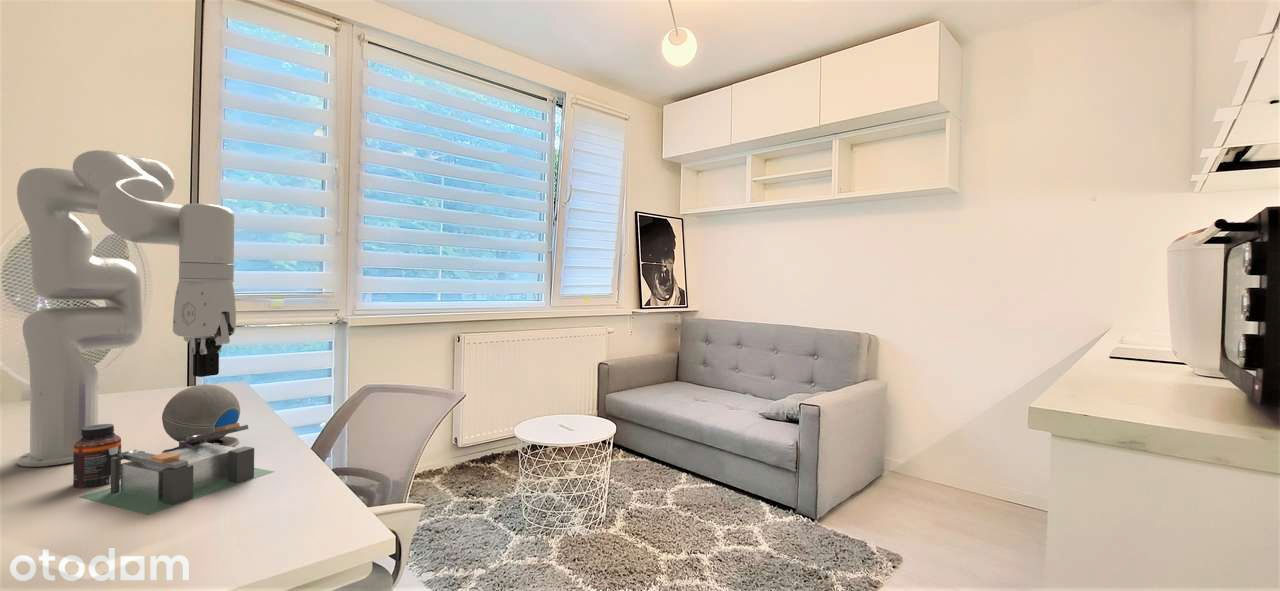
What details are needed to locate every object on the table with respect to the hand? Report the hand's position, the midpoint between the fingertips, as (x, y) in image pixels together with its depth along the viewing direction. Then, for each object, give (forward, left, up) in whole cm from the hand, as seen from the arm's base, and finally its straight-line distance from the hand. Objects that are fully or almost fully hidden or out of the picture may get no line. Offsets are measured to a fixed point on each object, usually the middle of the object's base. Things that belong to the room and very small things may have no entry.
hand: (206, 375), depth 92 cm
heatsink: (-4, -1, -20) cm, 20 cm away
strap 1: (-3, -6, -14) cm, 16 cm away
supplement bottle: (-18, -6, -21) cm, 29 cm away
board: (-4, -1, -21) cm, 22 cm away
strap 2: (-3, +4, -13) cm, 14 cm away
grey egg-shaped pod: (-23, +13, -21) cm, 34 cm away
